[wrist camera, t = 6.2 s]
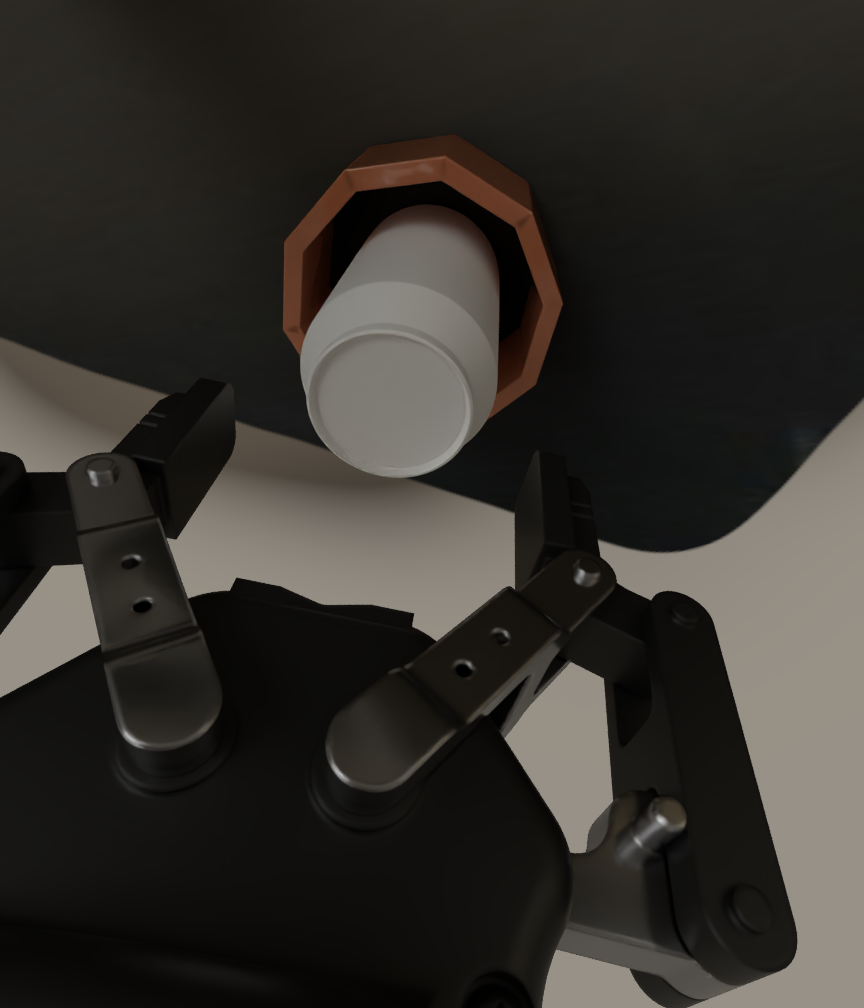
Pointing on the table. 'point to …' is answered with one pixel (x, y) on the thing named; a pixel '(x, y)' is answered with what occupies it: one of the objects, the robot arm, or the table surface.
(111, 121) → the table surface
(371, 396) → the beverage can
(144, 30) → the table surface
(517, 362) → the holder
